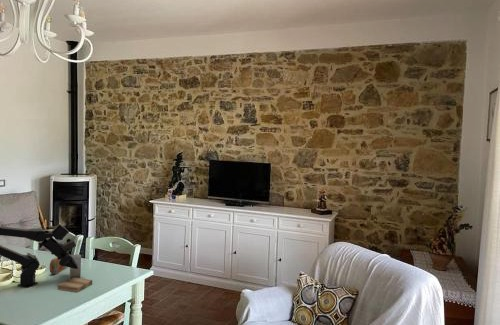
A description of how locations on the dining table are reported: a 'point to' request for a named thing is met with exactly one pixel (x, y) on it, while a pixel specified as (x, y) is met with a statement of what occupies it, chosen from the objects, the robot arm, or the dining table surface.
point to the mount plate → (75, 284)
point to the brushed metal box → (77, 260)
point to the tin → (55, 266)
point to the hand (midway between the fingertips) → (76, 265)
